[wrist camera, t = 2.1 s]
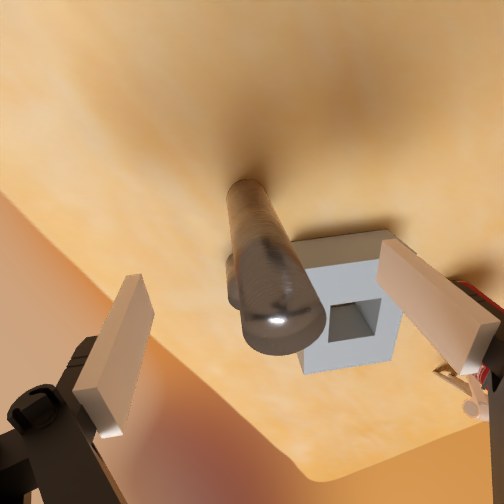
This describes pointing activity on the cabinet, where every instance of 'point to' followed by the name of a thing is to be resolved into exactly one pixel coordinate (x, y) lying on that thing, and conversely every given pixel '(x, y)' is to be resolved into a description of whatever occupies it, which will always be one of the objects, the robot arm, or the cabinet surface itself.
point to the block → (349, 301)
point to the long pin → (270, 277)
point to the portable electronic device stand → (478, 402)
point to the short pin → (232, 283)
